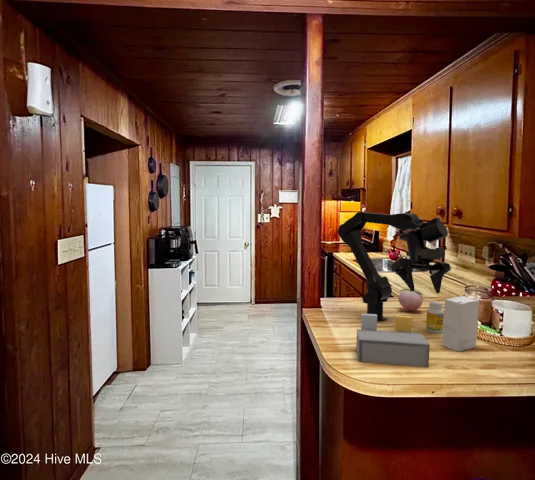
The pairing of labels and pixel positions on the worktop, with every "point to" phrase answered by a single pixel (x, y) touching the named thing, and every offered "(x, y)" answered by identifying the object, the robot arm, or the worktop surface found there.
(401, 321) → the mustard button
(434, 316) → the supplement bottle
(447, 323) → the skincare box
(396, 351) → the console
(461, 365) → the worktop surface
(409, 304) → the decorative fruit
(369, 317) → the light gray button
